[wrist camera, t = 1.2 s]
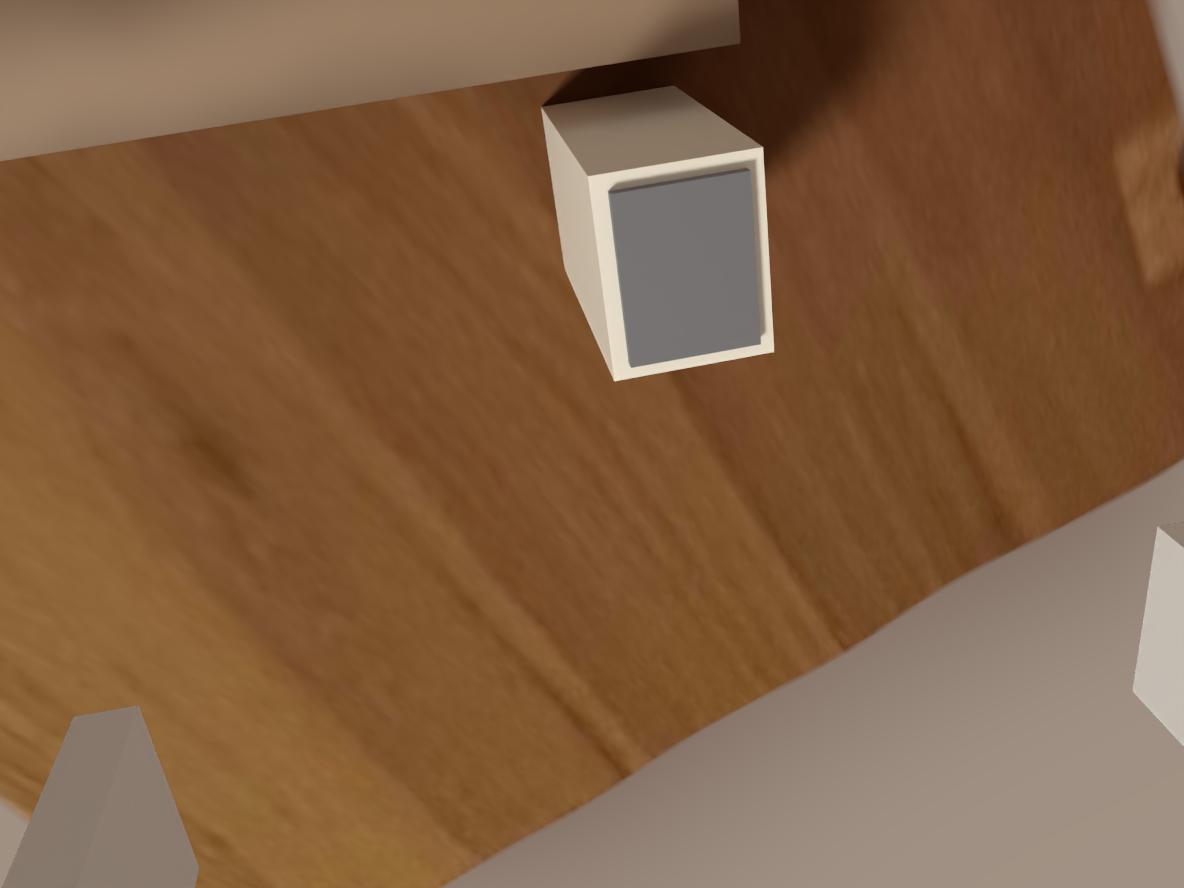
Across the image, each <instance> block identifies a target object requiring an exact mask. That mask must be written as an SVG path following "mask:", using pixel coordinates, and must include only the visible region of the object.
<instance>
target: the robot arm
mask: <svg viewBox="0 0 1184 888" xmlns="http://www.w3.org/2000/svg"><path fill="white" fill-rule="evenodd" d="M1133 692H1134V693H1135V694H1136V695H1137V697H1138V698H1139V699H1140V700H1141V701H1142V702H1143V703H1144V704H1145V705H1146V706H1147V707H1148V708H1149V709H1150V711H1151V712H1152V713H1153V714H1154V715H1155V716H1156V717H1157V718H1158V719H1159V720H1160V721H1161V722H1162V724H1163V725H1164V726H1165V727H1166V728H1167V729H1168V730H1169V731H1170V732H1171V733H1172V734H1173V736H1174V737H1175V738H1176V739H1177V740H1178V741H1179V742H1180V743H1181V744H1182V745H1183V746H1184V522H1180V523H1174V524H1168V525H1163V526H1158V527H1157V534H1156V540H1155V547H1154V553H1153V560H1152V567H1151V573H1150V580H1149V586H1148V593H1147V600H1146V606H1145V613H1144V619H1143V626H1142V632H1141V639H1140V645H1139V652H1138V659H1137V666H1136V672H1135V678H1134V685H1133ZM198 870H199V866H198V863H197V861H196V858H195V855H194V853H193V850H192V847H191V845H190V842H189V839H188V837H187V834H186V831H185V829H184V826H183V823H182V821H181V818H180V815H179V813H178V810H177V807H176V805H175V802H174V799H173V797H172V794H171V791H170V789H169V786H168V783H167V781H166V778H165V775H164V773H163V770H162V767H161V764H160V762H159V759H158V756H157V754H156V751H155V748H154V746H153V743H152V740H151V738H150V735H149V732H148V730H147V727H146V724H145V722H144V719H143V716H142V714H141V711H140V708H139V706H133V707H127V708H121V709H116V710H110V711H104V712H99V713H93V714H87V715H82V716H76V717H73V720H72V722H71V724H70V727H69V729H68V731H67V734H66V736H65V739H64V741H63V743H62V746H61V748H60V751H59V753H58V755H57V758H56V760H55V762H54V765H53V767H52V770H51V772H50V774H49V777H48V779H47V782H46V784H45V786H44V789H43V791H42V793H41V796H40V798H39V801H38V803H37V805H36V808H35V810H34V813H33V815H32V817H31V820H30V822H29V824H28V827H27V829H26V832H25V834H24V836H23V839H22V841H21V844H20V846H19V848H18V851H17V853H16V855H15V858H14V860H13V863H12V865H11V867H10V870H9V872H8V875H7V877H6V879H5V882H4V884H3V886H2V888H195V884H196V879H197V875H198Z"/></svg>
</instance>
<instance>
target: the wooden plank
mask: <svg viewBox="0 0 1184 888" xmlns="http://www.w3.org/2000/svg"><path fill="white" fill-rule="evenodd" d="M740 43H741V40H740V24H739V7H738V0H0V161H4V160H10V159H16V158H23V157H29V156H35V155H42V154H48V153H54V152H60V151H67V150H73V149H79V148H86V147H92V146H98V145H105V144H111V143H117V142H123V141H130V140H136V139H142V138H149V137H155V136H161V135H167V134H174V133H180V132H186V131H193V130H199V129H205V128H212V127H218V126H224V125H230V124H237V123H243V122H249V121H256V120H262V119H268V118H274V117H281V116H287V115H293V114H300V113H306V112H312V111H319V110H325V109H331V108H337V107H344V106H350V105H356V104H363V103H369V102H375V101H381V100H388V99H394V98H400V97H407V96H413V95H419V94H426V93H432V92H438V91H444V90H451V89H457V88H463V87H470V86H476V85H482V84H488V83H495V82H501V81H507V80H514V79H520V78H526V77H533V76H539V75H545V74H551V73H558V72H564V71H570V70H577V69H583V68H589V67H596V66H602V65H608V64H614V63H621V62H627V61H633V60H640V59H646V58H652V57H658V56H665V55H671V54H677V53H684V52H690V51H696V50H703V49H709V48H715V47H721V46H728V45H734V44H740Z"/></svg>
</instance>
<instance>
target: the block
mask: <svg viewBox="0 0 1184 888" xmlns="http://www.w3.org/2000/svg"><path fill="white" fill-rule="evenodd" d="M541 109H542V116H543V123H544V130H545V137H546V144H547V150H548V157H549V164H550V171H551V178H552V185H553V192H554V199H555V206H556V212H557V219H558V226H559V233H560V240H561V247H562V254H563V261H564V268H565V271H566V273H567V275H568V278H569V280H570V282H571V284H572V287H573V289H574V291H575V293H576V296H577V298H578V300H579V302H580V305H581V307H582V309H583V312H584V314H585V316H586V318H587V321H588V323H589V325H590V327H591V330H592V332H593V334H594V336H595V339H596V341H597V343H598V345H599V348H600V350H601V352H602V354H603V357H604V359H605V361H606V364H607V366H608V368H609V370H610V373H611V375H612V377H613V379H614V381H618V380H624V379H629V378H635V377H640V376H646V375H651V374H657V373H662V372H667V371H673V370H678V369H684V368H689V367H695V366H700V365H706V364H711V363H717V362H722V361H728V360H733V359H738V358H744V357H749V356H755V355H760V354H766V353H771V352H774V340H773V322H772V303H771V284H770V266H769V247H768V229H767V210H766V191H765V173H764V154H763V147H762V146H761V145H759V144H758V143H757V142H755V141H754V140H752V139H751V138H749V137H748V136H746V135H745V134H743V133H742V132H741V131H739V130H738V129H736V128H735V127H733V126H732V125H730V124H729V123H728V122H726V121H725V120H723V119H722V118H720V117H719V116H717V115H716V114H714V113H713V112H712V111H710V110H709V109H707V108H706V107H704V106H703V105H701V104H700V103H699V102H697V101H696V100H694V99H693V98H691V97H690V96H688V95H687V94H685V93H684V92H683V91H681V90H680V89H678V88H677V87H675V86H668V87H662V88H655V89H649V90H643V91H637V92H631V93H624V94H618V95H612V96H606V97H600V98H593V99H587V100H581V101H575V102H569V103H563V104H556V105H550V106H544V107H541Z"/></svg>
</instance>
